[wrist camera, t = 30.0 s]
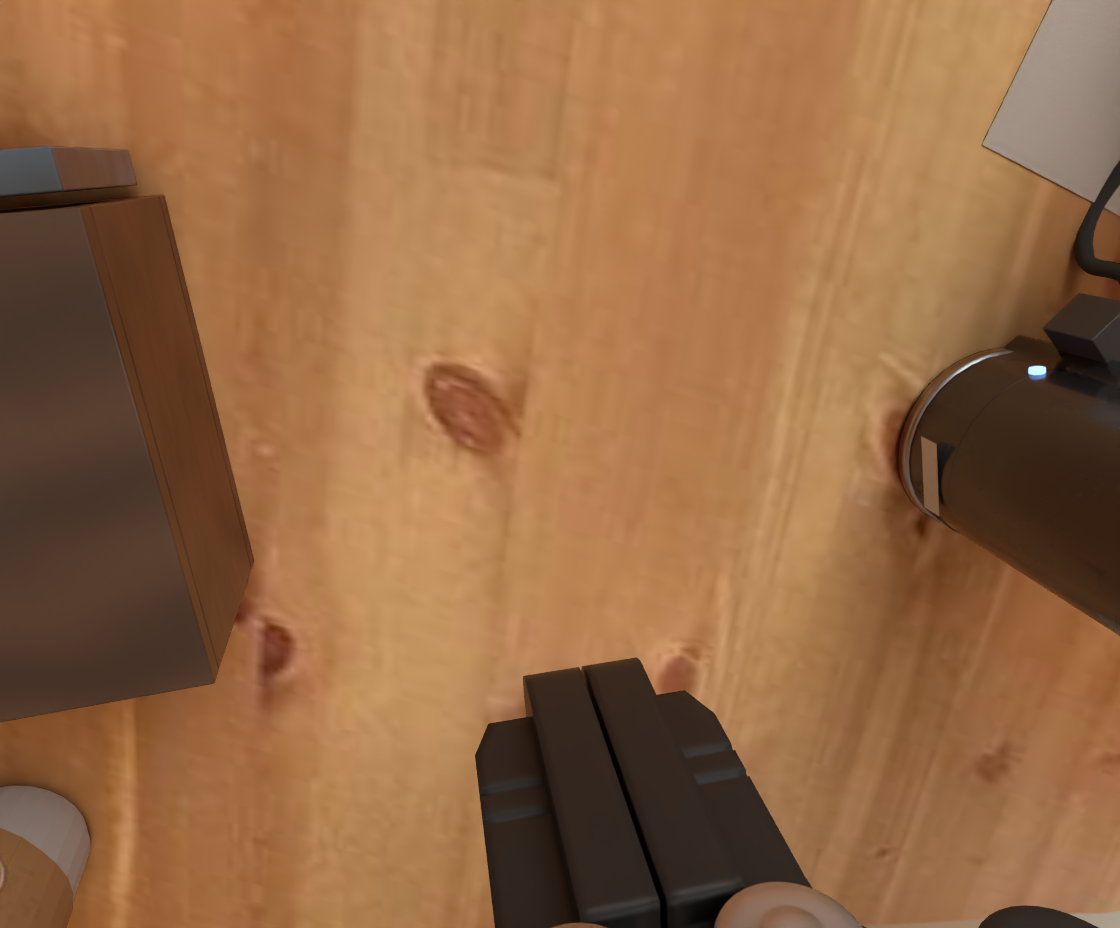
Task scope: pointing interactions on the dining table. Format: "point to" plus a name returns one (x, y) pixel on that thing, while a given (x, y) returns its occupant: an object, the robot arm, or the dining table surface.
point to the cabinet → (108, 465)
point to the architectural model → (1067, 100)
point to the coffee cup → (39, 857)
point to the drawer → (63, 170)
